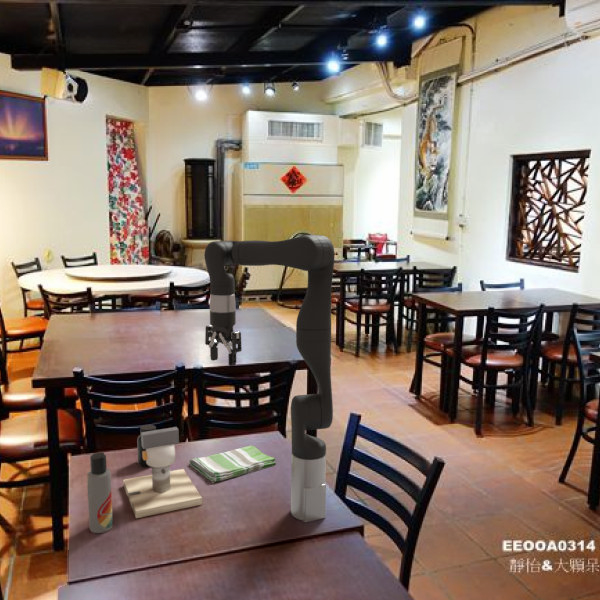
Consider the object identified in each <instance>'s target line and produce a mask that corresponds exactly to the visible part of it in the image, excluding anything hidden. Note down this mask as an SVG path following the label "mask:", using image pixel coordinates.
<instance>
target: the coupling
mask: <svg viewBox="0 0 600 600" xmlns="http://www.w3.org/2000/svg"><path fill="white" fill-rule="evenodd" d="M179 432H180V431H179V428H178V427H177V426H173V427H168V428H161V429H156V430H154V431H147V432H141V434H140V435H141V442H142V447H143V449H146V451H142V454H143V460H146V463H147V465H149V466H150V467H151V468H152V467H165V466H169V465H170V466H171V465H173V464H174V463H175V461H176V444H179V443H180V436H179V434H180V433H179Z"/></svg>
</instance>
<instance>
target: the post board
mask: <svg viewBox="0 0 600 600" xmlns="http://www.w3.org/2000/svg"><path fill="white" fill-rule="evenodd" d="M122 481H123V488H124V491H125V493H126V496H127V498H128V500H129V501H128V502H129V504H130V507H131V510H132V511H133V514H134V517H135V519H138V518H139V519H140V518H145V517H148V516H149V517H150V516H154V515H158V514H163V513H169V512H173V511H176V510H178V511H179V510H183V509H187V508H191V507H196V506H201V505H203V497H202V496H201V494H200V492H199V491H198V489H197V488H196V486H195V485H194V484H193V483H194V482H193V481H192V480H191V478H190V477H189V475H188V474H187V472H186V471H185V468H181V469H175V470H174V469H173V470H171V465H169V466H165V467H151V474H148V475H146V474H145V475H143V476H135V477H131V478H126V479H123V480H122Z"/></svg>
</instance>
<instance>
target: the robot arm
mask: <svg viewBox="0 0 600 600" xmlns="http://www.w3.org/2000/svg"><path fill="white" fill-rule="evenodd" d="M204 262H205V266H206V269H207V273H208V277H209V280H210V282H209V283H210V285H209V286H210V297H209V324H210V325H206V326H205V334H204V335H205V336H204V337H205V338H204V339H205V340H204V344H205V345H206V346H208V348H209V349H210V351H209V352H210V353H209V357H210V360H211V361H213V362H214V361H218V359H219V348H218V346H219V344H220V343H221V344H222V345H223V346H224V348H225V349H226V350H227V352H228V356H227V357H228V358H227V359H228V366H229V367H233V366H236V364H237V353H240V352H242V349H243V348H242V333H241V332H242V331H240V330H237V331H234V326H235V325H236V317H237V316H236V297H235V296H236V295H235V294H236V291H235V287H236V286H235V285H236V284H235V282H236V281H235V276H234V275H233V274H231V273H227V272H226V269H225V266H231V265H239V266H243V267H244V266H247V267H251V266H252V267H253V266H255V267H258V266H259V267H261V266H272V265H273V266H282V267H283V266H285V267H287V268H288V267H289V268H292V269H296V270H301V271H306V272H307V287H306V293H305V296H304V299H303V301H302V304H301V306H300V309H299V312H298V314H297V317H296V323H295V325H296V326H295V329H296V330H295V332H296V333H295V338H296V341H295V344H296V348H297V350H298V352H299V354H300V356H301V358H303V361H304V362H305V363H306V365H307V366H308V367H309V370H310V371H311V373H312V375H313V377H314V379H315V382H316V386H317V393H312V394H311V393H310V394H300V395H299V394H298V395H294V396H293V397H292V400H291V402H290V422H291V423H290V426H291V427H290V428H291V464H290V465H291V470H290V471H291V473H290V475H291V479H290V514H291V516H292V517H293V518H295V519H297V520H300V521H302V522H304V523H308V522H313V521H317V520H323V519H325V518H326V508H327V507H326V503H327V485H326V467H327V466H326V465H327V464H326V461H327V444H326V443H325V441H324V440H322V439H321V438H319V437H316V436H312V435H309V434H307V433H306V431H312V430H313V431H314V430H315V431H316V430H325V429H329V428H330V427H331V426H332V423H333V417H334V408H333V407H334V406H333V405H334V404H333V391H332V389H333V388H332V376H331V372H332V371H331V369H332V368H331V363H332V362H331V357H332V356H331V355H332V287H333V285H332V284H333V276H334V275H333V274H334V267H335V247H334V244H333V243H332V240H330V238H328V237H327V236H326V235H319V234H304V235H300V236H297V237H293V238H289V239H283V240H277V241H276V240H275V241H274V240H273V241H269V240H257V239H256V240H253V239H252V240H241V241H240V240H220V241H217V240H216V241H210V242H209V243H208V244H207V245H206V247H205V249H204Z"/></svg>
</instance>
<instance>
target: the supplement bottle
mask: <svg viewBox="0 0 600 600" xmlns="http://www.w3.org/2000/svg"><path fill="white" fill-rule="evenodd" d="M139 429H140V431H139V432H140V435H138V436H137V441H136V442H137V448H136V449H137V464H138V465H139V466H141V467H144V468H146V467H148V468H149V467H151V466H149V465H147V463H146V460H143V454H142V451H146V449H143V447H142V442H141V432H147V431H154V430H157V427H156V426H155V425H153V424H145V425H142V426H141V427H140V428H139Z"/></svg>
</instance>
